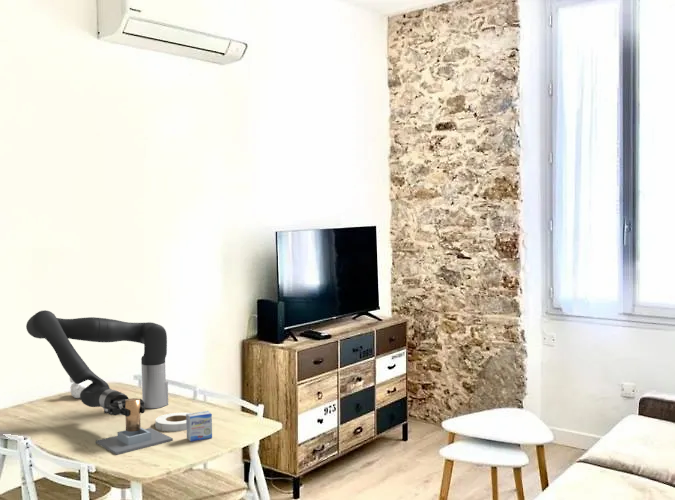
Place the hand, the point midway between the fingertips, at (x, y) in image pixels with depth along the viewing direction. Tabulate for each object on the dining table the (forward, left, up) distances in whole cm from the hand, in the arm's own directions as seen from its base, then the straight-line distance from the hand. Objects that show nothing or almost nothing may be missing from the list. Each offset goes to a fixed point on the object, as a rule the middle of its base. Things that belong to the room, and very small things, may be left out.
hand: (135, 411), depth 234 cm
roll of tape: (-20, -9, -11) cm, 25 cm away
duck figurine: (-9, -72, -11) cm, 74 cm away
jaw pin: (0, -2, -6) cm, 7 cm away
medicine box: (-18, +10, -11) cm, 24 cm away
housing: (0, -2, -11) cm, 11 cm away
